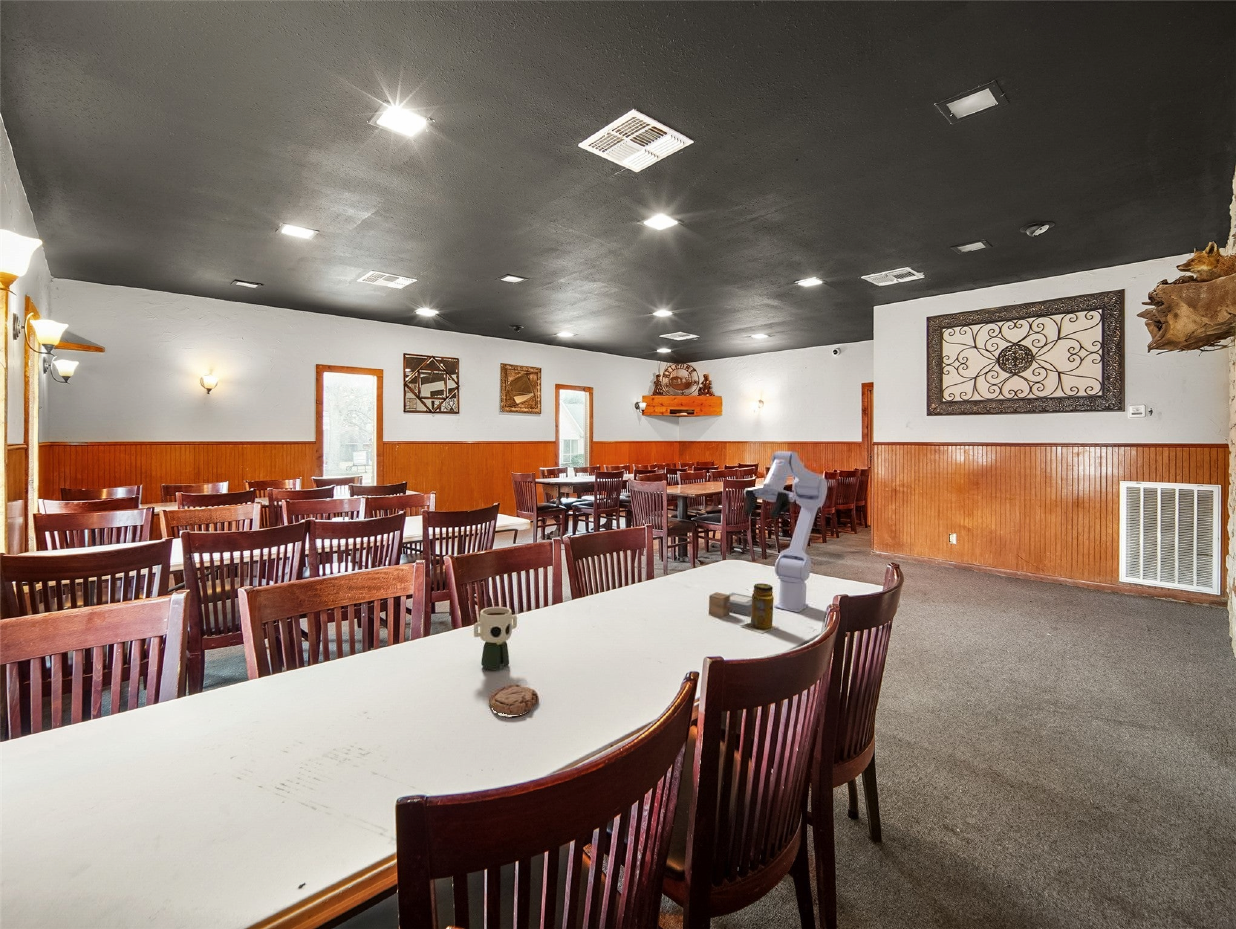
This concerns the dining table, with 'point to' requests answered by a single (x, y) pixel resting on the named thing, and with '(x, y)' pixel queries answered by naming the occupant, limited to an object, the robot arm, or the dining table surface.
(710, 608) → the walnut block
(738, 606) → the slate base
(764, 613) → the condiment
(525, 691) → the cookie
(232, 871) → the dining table surface
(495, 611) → the character mug
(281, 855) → the dining table surface
